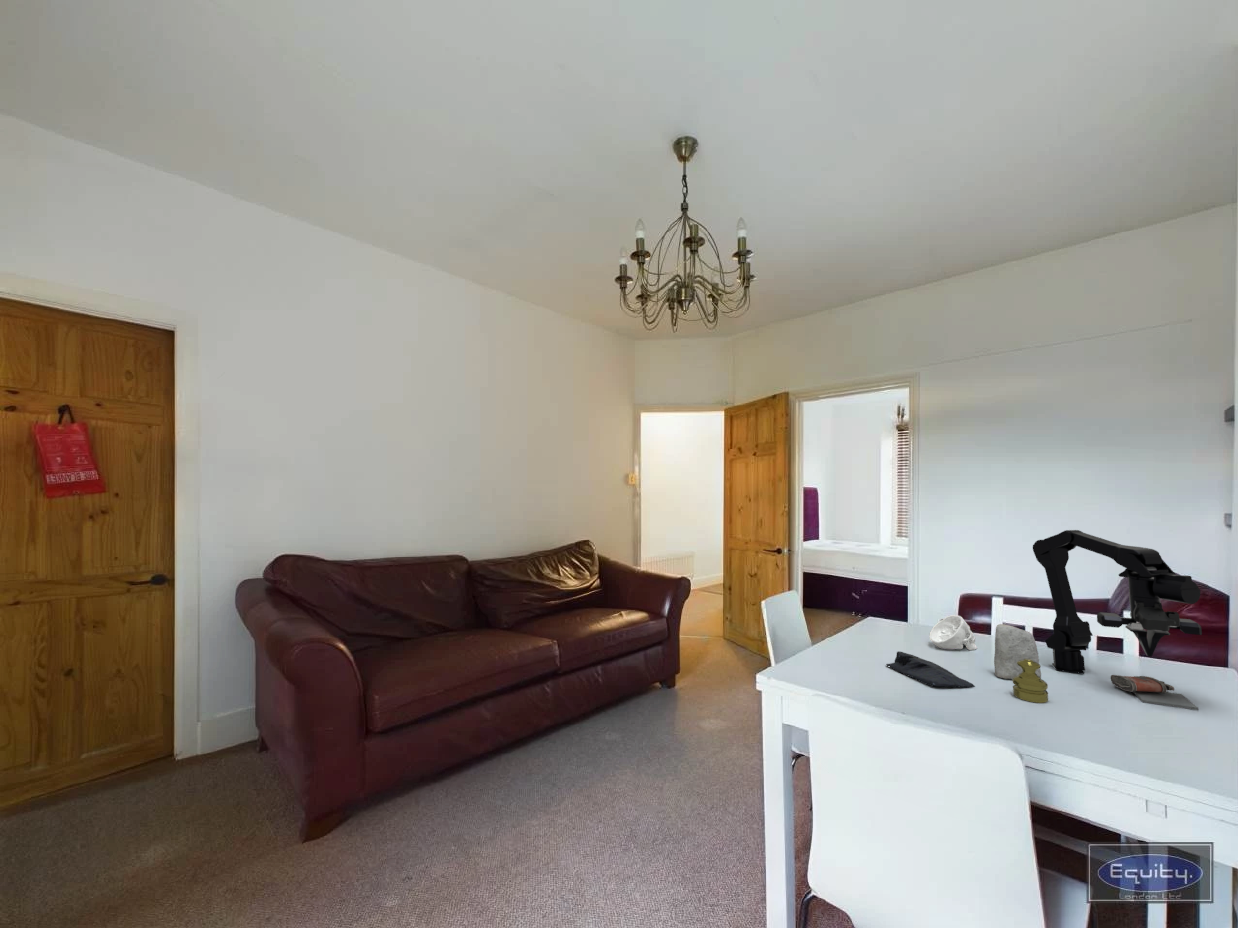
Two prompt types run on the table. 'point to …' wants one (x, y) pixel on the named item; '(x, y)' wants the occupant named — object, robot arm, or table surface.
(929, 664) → the dark slate chunk
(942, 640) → the skull bowl
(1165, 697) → the mat
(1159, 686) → the lighter
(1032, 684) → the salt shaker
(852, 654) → the table surface
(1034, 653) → the decorative stone
